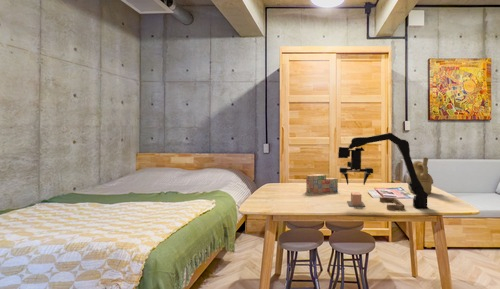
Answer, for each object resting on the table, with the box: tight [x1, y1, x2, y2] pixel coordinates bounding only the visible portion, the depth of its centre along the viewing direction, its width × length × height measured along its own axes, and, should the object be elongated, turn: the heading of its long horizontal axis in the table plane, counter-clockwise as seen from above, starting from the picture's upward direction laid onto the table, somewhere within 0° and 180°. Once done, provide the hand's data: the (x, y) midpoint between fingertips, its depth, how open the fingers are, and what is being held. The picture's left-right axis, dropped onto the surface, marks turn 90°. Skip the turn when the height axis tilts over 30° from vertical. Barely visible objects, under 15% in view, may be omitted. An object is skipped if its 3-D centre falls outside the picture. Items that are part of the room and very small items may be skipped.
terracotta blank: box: [350, 191, 362, 205], centre depth 204 cm, size 8×5×6 cm, turn 170°
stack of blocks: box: [305, 173, 339, 194], centre depth 245 cm, size 21×6×12 cm, turn 103°
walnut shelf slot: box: [379, 196, 405, 211], centre depth 201 cm, size 9×21×2 cm, turn 170°
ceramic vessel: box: [406, 157, 434, 195], centre depth 237 cm, size 17×20×25 cm
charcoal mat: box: [346, 200, 366, 208], centre depth 204 cm, size 9×12×1 cm
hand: (355, 184), depth 204 cm, fingers open, 9 cm apart
